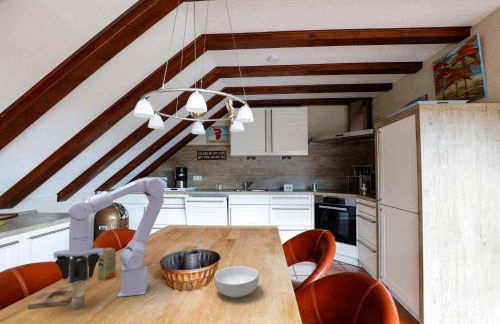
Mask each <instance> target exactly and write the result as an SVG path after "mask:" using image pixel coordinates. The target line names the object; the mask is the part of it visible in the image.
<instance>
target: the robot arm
mask: <svg viewBox="0 0 500 324" xmlns="http://www.w3.org/2000/svg"><path fill="white" fill-rule="evenodd" d="M164 188H165V187H164V185H163V181H161V179H160V178H158V177H154V176H153V177H150V176H149V177H148V176H147V177H146V176H145V177H142V178H140V179H136V180H134V181H131V182H129V183H126V184H125V185H122V186H120V187H118V188H115V189H114V190H111V191H110V192H109V191H105V190H104V191H101V190H100V191H96V194H95V195H91V196H90V197H87V198H86V197H84V198H82V199H81V201H76V202H74V203H72V204H71V205H70V206H69V209H68V210H67V211H68V214H69V225H68V227H69V229H68V230H69V231H68V233H69V234H68V249H63V250H62V249H61V250H56V251H54V252H53V259H55V260H54V261H55V265H57V267H58V269H59V271H60V272H61V275H62V278H63V280H65V281H66V280H67V279H69V262H70V259H71V257H72V256H86V257H88V256H89V257H88V278H92V277H93V276H94V274H95V273H94V272H95V269H96V266H97V265H98V259H99V257H100V255H102V254H103V249H104V247H90V221H89V219H90V216H91V215H92V214H95V213H97V212H99V211H101V210H104V209H106V208H108V207H110V206H112V204H113V202H114V201H115V200H117V199H120V198H123V197H124V196H127V195H129V194H132V193H134V192H139V193H140V192H141V193H143V194H144V195H145V196H146V199H147V200H148V203H147V206H146V209H145V211H144V212H143V215H142V217H141V219H140V221H139V224H138V226H137V227H136V230H135V231H134V235H133V237H132V239H131V240H130V241H129V242H128V243H127V245H126V246H125V248H124V249H123V250H122V251H121V252H120V255H119V260H120V261H121V263H122V265H121V267H120V291H119V292H118V294H117V298H119V297H129V296H140V295H145V294H146V292H147V289H148V288H149V266H144V265H143V264H144V259H145V258H144V256H145V253H146V243H147V241H148V239H149V237H150V234H151V233H152V230H153V228H154V225H155V223H156V221H157V218H158V216H159V214H160V211H161V210H162V207H163V205H164V201H165V199H164Z"/></svg>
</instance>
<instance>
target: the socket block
mask: <svg viewBox="0 0 500 324" xmlns="http://www.w3.org/2000/svg"><path fill="white" fill-rule="evenodd" d="M71 303H72V286H64V287H54V288H47V289H46V290H45V291H43V292H42V293H41V294H40V295H38V296H37V297H36V298H34V299H33V300H32V301H31V302H29V303H28V304H27V309H28V310H32V309H43V308H51V307H52V308H53V307H61V306H68V305H70V304H71Z"/></svg>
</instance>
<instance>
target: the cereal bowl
mask: <svg viewBox="0 0 500 324" xmlns="http://www.w3.org/2000/svg"><path fill="white" fill-rule="evenodd" d="M259 274H260V273H259V271H258V270H257V269H256V268H253V267H251V266H245V265H233V266H226V267H222V268H221V269H218V270H217V271H216V272H215V273H214V276H213V280H214V286H215V288H216V290H217V291H218V292H219V293H220V294H222V295H224V296H227V297H229V298H233V299H234V298H235V299H236V298H242V297H245V296H247V295H249V294H250V293H252V292H253V291H256V288H257V287H258V285H259V279H260V275H259Z"/></svg>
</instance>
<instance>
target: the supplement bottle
mask: <svg viewBox="0 0 500 324" xmlns="http://www.w3.org/2000/svg"><path fill="white" fill-rule="evenodd" d="M88 274H89V265H88V256H72V258H70V262H69V277H68V281H69V283H71V284H72V283H74V282H76V281H81V280H83V281H86V280H87V279H88V278H89V276H88Z"/></svg>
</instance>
